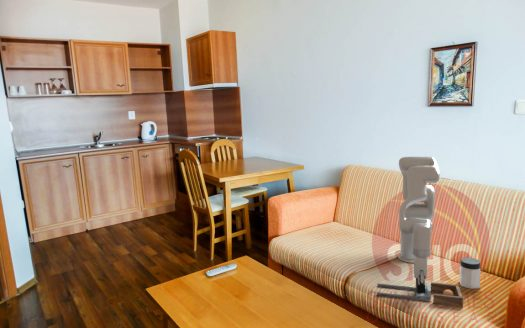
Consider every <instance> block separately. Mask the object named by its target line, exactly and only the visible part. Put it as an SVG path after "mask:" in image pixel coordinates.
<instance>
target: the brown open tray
mask: <svg viewBox="0 0 525 328" xmlns="http://www.w3.org/2000/svg"><path fill="white" fill-rule="evenodd" d="M430 290H431V293H433V292H434V293H433V299H432V300H433V302H432V303H433V305H442V306H450V307H457V306H462V307H461V308H463V306H464V296H463V294H462V291H461V289H460V286H459V285H458V284H454V283H452V284H451V283H442V282H441V283H440V282H432V281H431V282H430ZM445 290H451V291H452V292H453V296H450V295H443V292H444V291H445ZM439 293H440V294H439Z"/></svg>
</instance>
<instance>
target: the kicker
mask: <svg viewBox="0 0 525 328" xmlns="http://www.w3.org/2000/svg"><path fill="white" fill-rule="evenodd" d="M419 277H420V276H419ZM419 280H421V279H419ZM417 283H418V278H415V287H416V291H415V295H416V296H415V297H424V298H430V301H431V297H432V292H431V284H430V283H426V282H425V285H426V286H425V293H418V292H417Z"/></svg>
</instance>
